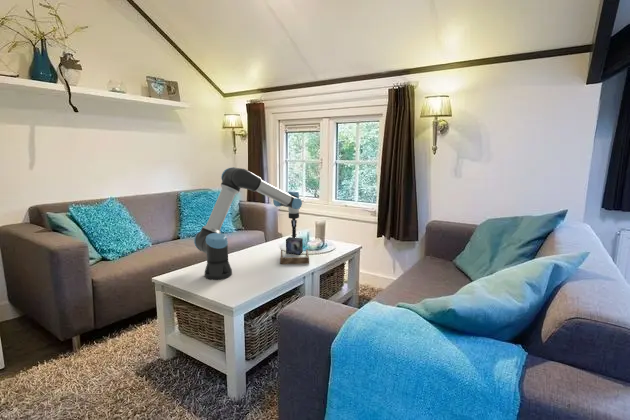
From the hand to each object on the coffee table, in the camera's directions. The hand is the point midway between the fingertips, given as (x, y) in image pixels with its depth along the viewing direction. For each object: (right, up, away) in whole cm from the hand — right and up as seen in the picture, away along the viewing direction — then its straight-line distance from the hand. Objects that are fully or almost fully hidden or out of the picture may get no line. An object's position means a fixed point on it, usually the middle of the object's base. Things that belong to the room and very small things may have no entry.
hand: (294, 244), depth 247 cm
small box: (+1, -5, -11) cm, 12 cm away
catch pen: (+2, -7, -24) cm, 25 cm away
